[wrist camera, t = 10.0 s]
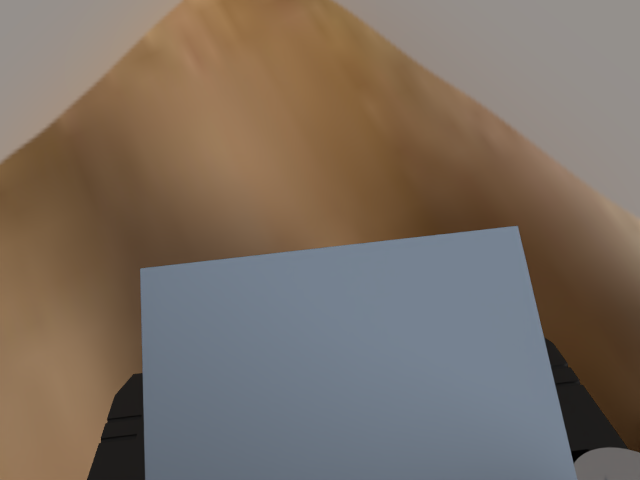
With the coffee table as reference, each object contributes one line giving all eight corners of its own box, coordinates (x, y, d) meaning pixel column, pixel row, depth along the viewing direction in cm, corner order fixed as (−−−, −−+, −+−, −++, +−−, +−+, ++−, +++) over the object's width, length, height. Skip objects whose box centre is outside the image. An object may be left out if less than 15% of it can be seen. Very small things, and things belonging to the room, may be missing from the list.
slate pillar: (262, 546, 16) (151, 727, 6) (248, 374, 18) (140, 268, 7) (430, 525, 16) (619, 662, 6) (403, 356, 18) (518, 225, 7)
